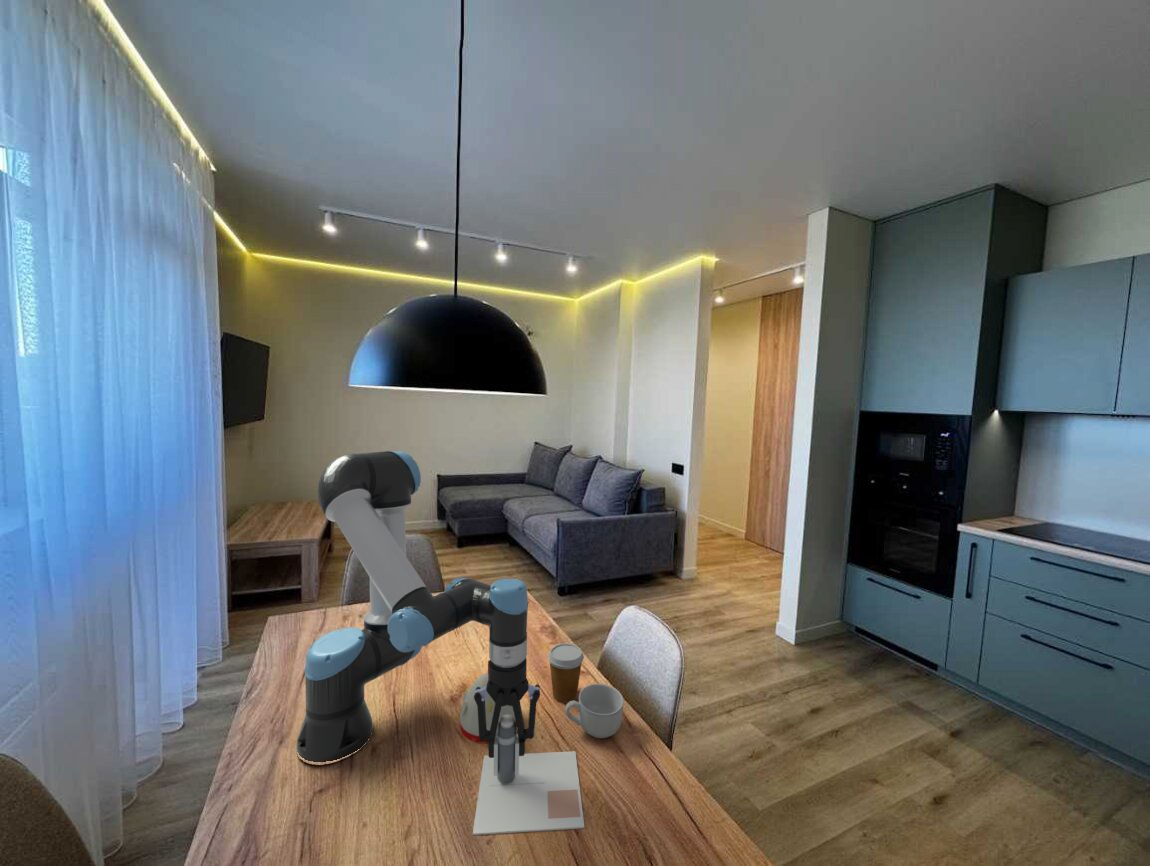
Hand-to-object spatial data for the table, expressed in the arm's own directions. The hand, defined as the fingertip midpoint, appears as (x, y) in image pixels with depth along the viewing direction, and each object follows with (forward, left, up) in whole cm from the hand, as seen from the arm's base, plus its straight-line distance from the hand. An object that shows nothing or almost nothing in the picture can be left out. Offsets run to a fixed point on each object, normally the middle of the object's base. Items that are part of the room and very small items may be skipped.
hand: (506, 769), depth 91 cm
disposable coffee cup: (+14, +26, -2) cm, 30 cm away
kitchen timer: (-5, +17, -2) cm, 18 cm away
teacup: (+20, +14, -2) cm, 24 cm away
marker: (0, 0, -1) cm, 1 cm away
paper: (+5, -3, -2) cm, 6 cm away
